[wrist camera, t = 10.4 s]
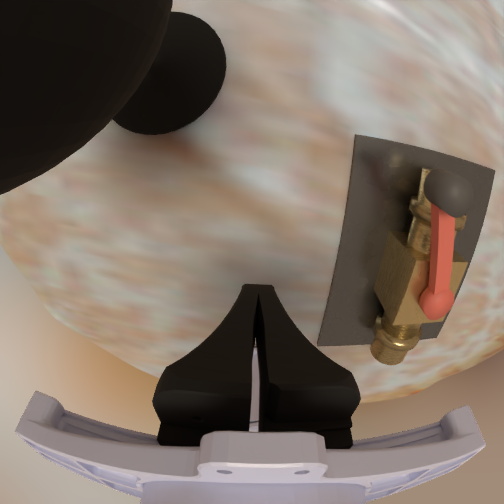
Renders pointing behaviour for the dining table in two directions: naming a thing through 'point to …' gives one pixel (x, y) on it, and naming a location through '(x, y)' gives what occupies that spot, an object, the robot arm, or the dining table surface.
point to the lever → (443, 236)
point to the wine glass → (97, 76)
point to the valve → (395, 247)
